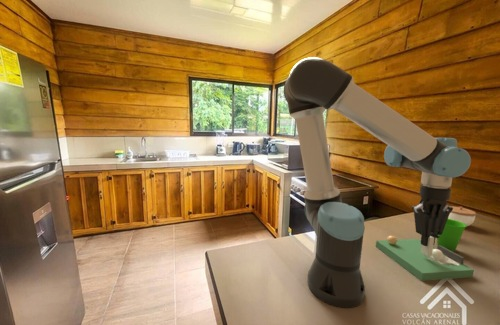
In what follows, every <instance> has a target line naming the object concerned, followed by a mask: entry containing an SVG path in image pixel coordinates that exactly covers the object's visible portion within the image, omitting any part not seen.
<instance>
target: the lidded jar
mask: <svg viewBox="0 0 500 325" xmlns="http://www.w3.org/2000/svg"><path fill="white" fill-rule="evenodd" d="M450 207H452V208H453V210H452V211H451V213H450V214H449V217H448V219H453V220H457V221H460V222H462V223H464V224H466V226H467V227H469V226H471V225H472V224H473V223H474V222H475V219H476V215H477V213H476V211H474V210H471V209H468V208H464V207H463V206H453V205H452V206H450Z"/></svg>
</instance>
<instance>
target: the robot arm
mask: <svg viewBox="0 0 500 325" xmlns="http://www.w3.org/2000/svg"><path fill="white" fill-rule="evenodd" d="M283 96H284V99H285V101H286V102H287V108H288V113H289V114H288V115H289V116H290V117H291V118H292V119H294V121H295V125H296V131H297V138H298V141H299V142H298V143H299V148H300V153H301V159H302V165H303V166H302V167H303V171H304V177H305V182H306V188H307V190H306V191H305V192H304V194H303V197H304V214H305V217H306V219H307V221H308V222H309V224H310V226H311V228H312V229H313V231H314V233H315V236H316V240H315V241H316V243H315V257H314V259H313V262H312V263H311V266H310V268H309V270H308V273H307V286H308V288H309V290H310V292H312V294H313V295H314V296H315V297H317V299H319V300H321V301H322V302H325V304H326V303H327V304H328V305H331V306H334V307H339V308H355V307H357V306H360V305H361V304H362V303H363V302H364V299H365V292H366V286H365V282H364V279H363V275H362V271H361V259H362V251H363V242H364V241H363V240H364V233H365V227H366V226H365V217H364V215H363V213H362V212H361V210H359V209H358V208H356V207H354V206H353V205H349V204H348V203H344V202H343V201H342V195H341V191H340V189H339V188H337V187H335V183H334V178H333V171H332V164H331V163H332V162H331V159H330V151H329V145H328V144H329V143H328V140H327V139H328V138H327V132H326V127H325V119H324V112H325V111H326V110H327V111H330V110H334V111H335V112H338V113H339V114H340V115H342V116H343V117H345V118H347V119H348V120H349V121H351V122H352V123H354V124H355V125H357V126H358V127H360V128H361V129H363V130H365V131H366V132H367V133H369V134H371V135H372V136H373V137H375V138H376V139H378V140H379V141H381V142H382V143H384V144H386V145H387V146H386V147H385V150H384V152H383V158H384V162H385V164H386V165H387V166H388V167H393V168H394V167H396V168H407V169H411V170H415V171H420V172H421V178H420V184H421V185H420V186H419V195H420V197H421V198H420V200H419V202H418V205H416V206H415V205H412V206H411V209H412V212H413V215H414V225H415V232H416V234H419V235H420V236H421V237H420V240H421V253H423V254H424V255H426V256H432V251H433V248H434V246H435V243H436V239H437V238H439V237H440V236H437V235H442V233H443V230H444V228H445V225H446V222H447V219H448V217H449V214H450V213H451V211H452V210H453V208H452V207H450V206H449V205H448V203H447V201H448V200H450V198H451V191H452V189H451V188H450V187H452V182H453V178H457V177H458V178H459V177H460V176H462V175H464V174H465V173H466V172H467V171H468V170H469V168H470V166H471V163H472V159H471V155H470V153H469V152H468V151H467V150H466V149H464V148H461V147H458V140H457V139H456V138H455V137H454V138H453V137H434V136H432V135H431V134H430V133H428V132H427V131H426V130H424V129H422V128H421V127H419V126H418V125H417V124H415V123H413V122H412V121H410V120H409V119H408V118H406V117H404V116H403V115H402V114H400V113H399V112H397V111H396V110H394V109H393V108H391V107H390V106H389V105H387V104H385V102H382V101H381V100H380V99H378V98H377V97H375V96H374V95H373V94H370V93H369V92H368V91H367V90H365V89H364V88H362V87H360V86H359V85H357V84H356V83H355V81H354V76H353V75H352V74H349V73H348V72H347V71H346V70H344V69H342V68H341V67H339V66H338V65H336V64H334V63H333V62H331V61H328V60H326V59H324V58H321V57H317V56H316V57H315V56H311V57H310V56H309V57H306V58H303V59H301V60H299V61H298V62H297V63H295V65H294V66H293V67H292V69H291V70H290V73H289V75H288V77H287V78H286V80H285V81H284V85H283Z"/></svg>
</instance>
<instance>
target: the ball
mask: <svg viewBox="0 0 500 325" xmlns="http://www.w3.org/2000/svg"><path fill="white" fill-rule="evenodd" d="M432 256H433V257H434V258H435V259H441V258H442V257H443V253H442V252H441V251H440V250H438V249H437V248H435V249H433V251H432Z"/></svg>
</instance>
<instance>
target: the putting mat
mask: <svg viewBox="0 0 500 325" xmlns="http://www.w3.org/2000/svg"><path fill="white" fill-rule="evenodd" d="M375 247H376V248H377V249H379V251H380V252H382V253H384V254H385V255H387V256H388V257H389V258H391V259H392V260H393V261H394V262H396V264H398V265H400V266H401V267H402V268H404V269H405V270H406V271H408V272H409V273H410V274H412V275H413V276H415V277H416V279H419V280H420V281H421V282H422V281H423V282H424V281H425V282H426V281H438V280H439V281H440V280H451V279H453V280H454V279H463V278H465V279H467V278H473V276H474V271H475V270H474V269H473V268H472V267H470V266H468V265H466V264H464V261H465V257H464V256H462V255H460V254H458V253H456V252H455V251H454V252H452V251H450V250H448V249H446V248H445V247H443V246H441V245H436V248H435V247H433V249H438V250H440V251H441V252H442V253H443V257H442V258H441V259H435V258H434V257H433V256H426V255H424V254H423V253H421V239H419V238H406V239H404V238H403V239H397V243H396V244H394V245H392V244H390V243H388V241H387V239H383V240H380V239H378V240H376V241H375Z"/></svg>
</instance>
